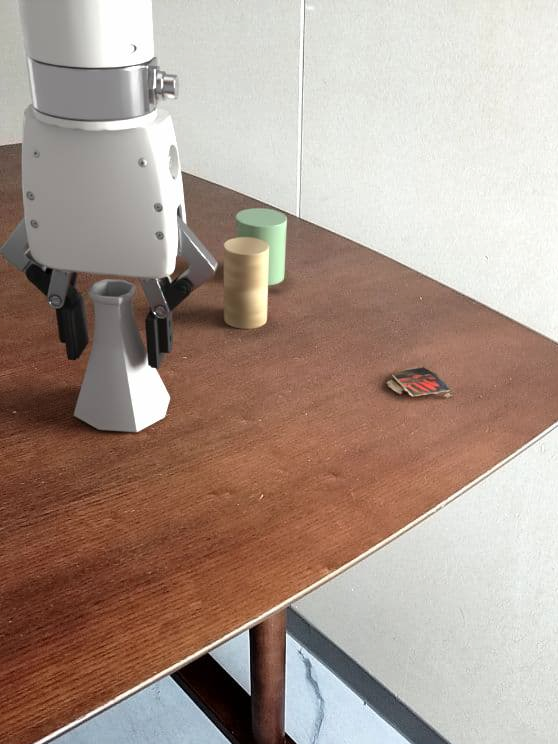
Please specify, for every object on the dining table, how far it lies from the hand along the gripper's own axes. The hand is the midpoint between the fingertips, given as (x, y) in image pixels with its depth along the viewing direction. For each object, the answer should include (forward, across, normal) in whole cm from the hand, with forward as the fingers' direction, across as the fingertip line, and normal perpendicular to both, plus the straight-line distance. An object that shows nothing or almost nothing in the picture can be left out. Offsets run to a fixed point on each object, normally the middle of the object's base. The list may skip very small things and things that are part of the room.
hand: (118, 353), depth 64 cm
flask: (+5, 0, 0) cm, 5 cm away
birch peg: (+5, -7, -18) cm, 19 cm away
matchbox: (+5, -23, -8) cm, 25 cm away
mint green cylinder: (+5, -7, -28) cm, 29 cm away
